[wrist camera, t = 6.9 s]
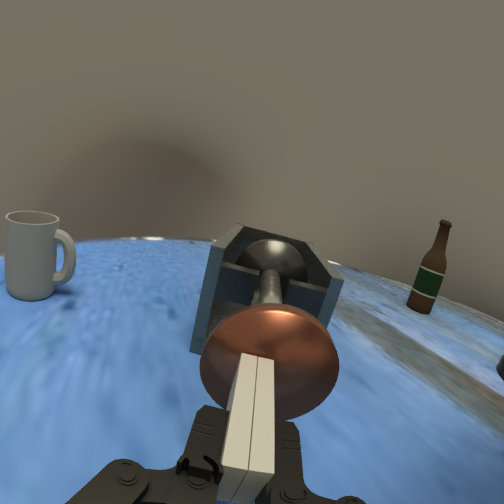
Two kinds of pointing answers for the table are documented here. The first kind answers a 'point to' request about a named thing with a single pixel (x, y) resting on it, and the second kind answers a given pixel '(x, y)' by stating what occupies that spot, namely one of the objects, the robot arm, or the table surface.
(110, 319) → the table surface
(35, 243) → the cup
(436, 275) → the beer bottle
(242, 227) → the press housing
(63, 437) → the table surface
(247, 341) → the plunger
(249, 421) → the robot arm
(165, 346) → the table surface
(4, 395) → the table surface
